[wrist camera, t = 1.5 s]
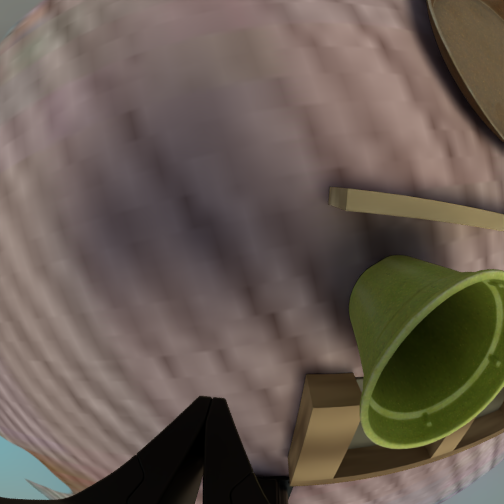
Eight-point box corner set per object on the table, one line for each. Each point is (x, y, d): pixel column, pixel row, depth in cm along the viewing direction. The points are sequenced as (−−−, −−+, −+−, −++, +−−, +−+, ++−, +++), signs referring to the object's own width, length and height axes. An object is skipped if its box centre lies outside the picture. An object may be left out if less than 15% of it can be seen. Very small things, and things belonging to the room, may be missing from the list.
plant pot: (416, 363, 18) (468, 438, 10) (304, 352, 18) (326, 455, 10) (461, 247, 16) (549, 288, 8) (345, 212, 16) (424, 246, 7)
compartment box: (500, 411, 20) (521, 438, 15) (287, 457, 21) (291, 509, 15) (564, 230, 15) (602, 243, 9) (329, 184, 15) (367, 187, 10)
